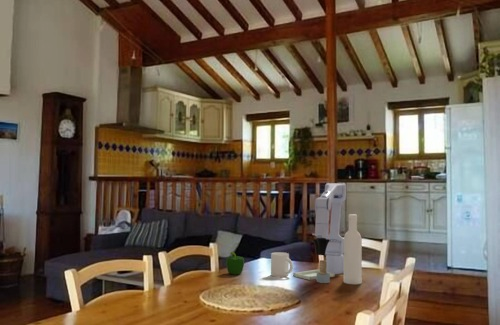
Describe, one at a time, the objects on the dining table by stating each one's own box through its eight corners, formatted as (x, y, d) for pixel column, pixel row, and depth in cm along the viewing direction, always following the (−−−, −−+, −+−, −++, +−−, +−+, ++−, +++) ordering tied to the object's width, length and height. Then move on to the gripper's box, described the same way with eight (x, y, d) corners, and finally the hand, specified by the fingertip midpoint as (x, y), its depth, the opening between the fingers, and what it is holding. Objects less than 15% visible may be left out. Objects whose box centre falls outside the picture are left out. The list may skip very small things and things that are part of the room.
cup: (322, 280, 205) (322, 272, 205) (332, 282, 200) (332, 274, 200) (313, 282, 201) (314, 273, 201) (323, 284, 197) (323, 275, 197)
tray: (317, 273, 222) (317, 269, 222) (334, 277, 213) (334, 273, 213) (293, 276, 212) (293, 272, 212) (310, 280, 204) (310, 276, 204)
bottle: (343, 280, 205) (343, 213, 207) (361, 281, 204) (361, 214, 205) (343, 284, 197) (343, 214, 199) (362, 285, 196) (362, 215, 197)
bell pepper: (247, 274, 216) (247, 253, 217) (232, 276, 212) (232, 254, 212) (237, 271, 223) (238, 250, 224) (223, 273, 219) (223, 252, 219)
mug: (298, 277, 211) (298, 254, 212) (285, 279, 206) (286, 256, 206) (279, 273, 220) (279, 251, 221) (267, 275, 215) (267, 253, 215)
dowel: (322, 280, 203) (323, 260, 203) (327, 281, 200) (328, 261, 201) (318, 281, 201) (318, 260, 202) (323, 282, 199) (323, 261, 199)
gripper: (310, 224, 212) (309, 254, 209) (315, 222, 198) (314, 254, 195) (325, 225, 212) (324, 255, 209) (331, 223, 198) (330, 255, 195)
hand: (320, 255), depth 202 cm, fingers open, 7 cm apart
